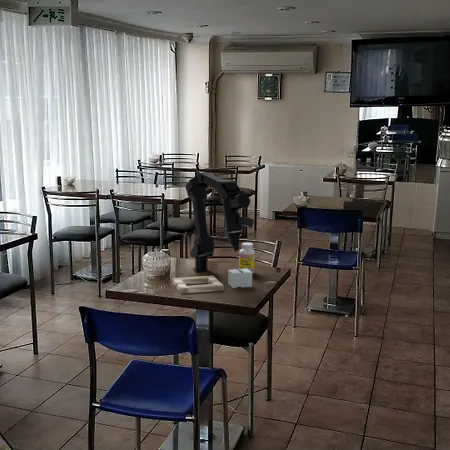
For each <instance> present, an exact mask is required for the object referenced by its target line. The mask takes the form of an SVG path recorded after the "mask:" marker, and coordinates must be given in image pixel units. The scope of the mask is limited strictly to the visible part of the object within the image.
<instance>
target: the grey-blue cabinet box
mask: <svg viewBox="0 0 450 450" xmlns="http://www.w3.org/2000/svg"><path fill="white" fill-rule="evenodd" d="M227 272H228V273H227V274H228V278H227V279H228V282H227V284H228V285H229V286H230V287H231V288H232V289H238V288H237V287H241V288H252V287H253V273H252V272H251V271H250V270H248V269H239V268H237V269H235V268H233V269H228V271H227Z"/></svg>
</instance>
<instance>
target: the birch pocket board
mask: <svg viewBox="0 0 450 450" xmlns="http://www.w3.org/2000/svg"><path fill="white" fill-rule="evenodd" d="M171 281H172V285H173V287H174V288H176V290H177V291H178V292H179V294H194V293H209V292H222V291H223V292H224V289H225V288H224V287H225V286H224V284H223V283H222V282H220V281H219V280H218V279H217V278H216V277H215V276H214V275H202V276H190V277H189V276H187V277H174V278H172V280H171Z"/></svg>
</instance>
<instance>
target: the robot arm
mask: <svg viewBox="0 0 450 450" xmlns="http://www.w3.org/2000/svg"><path fill="white" fill-rule="evenodd" d="M209 187H211V188H213V189H215V192H216V193H217V194H218V195H219V196H221V198H220V200H219V203H220V204H221V203H222V209H223V215H224V216H223V217H224V222H225V230H224V233H225V237H226V238H227V240H228V242H229V243H230V245H231V247H232V249H233V251H234V252H235V253H236V252H238V251H240V236H241V235H242V234H243V232H244V228H243V227H248V228H249V229H253V228H254V222H255V219H253V218H251V217H248V216H246V217H243V216H241V213H239V210H242V209H243V210H244V209H245V208H248V207H249V206H250V204H251V198H250V196H249V195H248V194H247V193H245V192H246V191H245V190H242V189H241V188H240V187H239V185H238V183H237V182H236V181H235V180H232V179H231V180H230V179H222V178H221V177H219V176H216V175H214V174H212V173H210V172H208V171H207V172H206V171H205V172H199V173H197V174H196V175H195V176H194V177H192V178H190V179H189V180H188V182H187V183H186V184H185V191H186V195H187V197H188V199H189V200H190V201H191V204H192V210H193V216H194V219H193V220H194V225H195V234H196V235H195V237H194V239H193V246H192V248H191V250H190V252H189V255H190V258H193V259H194V267H192V270H193V271H194V272H195V273H210V272H211V269H209V258H211V257H213V256H214V251H215V242H214V237H213V236H211V235H210V234H209V232H208V231H209V230H208V224H207V216H206V210H205V202H204V200H205V197H206V195H207V189H208V188H209Z"/></svg>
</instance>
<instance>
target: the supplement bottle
mask: <svg viewBox="0 0 450 450" xmlns="http://www.w3.org/2000/svg"><path fill="white" fill-rule="evenodd" d="M241 247H242V248H241V249H239V250H238V251H239V252H238V253H239V254H238V255H239V256H238V257H239V258H238V269H248V270H250V271H251V272H252V274H254V273H255V261H256V259H255V258H256V257H255V254H256V252H255V250H254V248H253V247H254V244H253V243H252V242H242V243H241Z"/></svg>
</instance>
